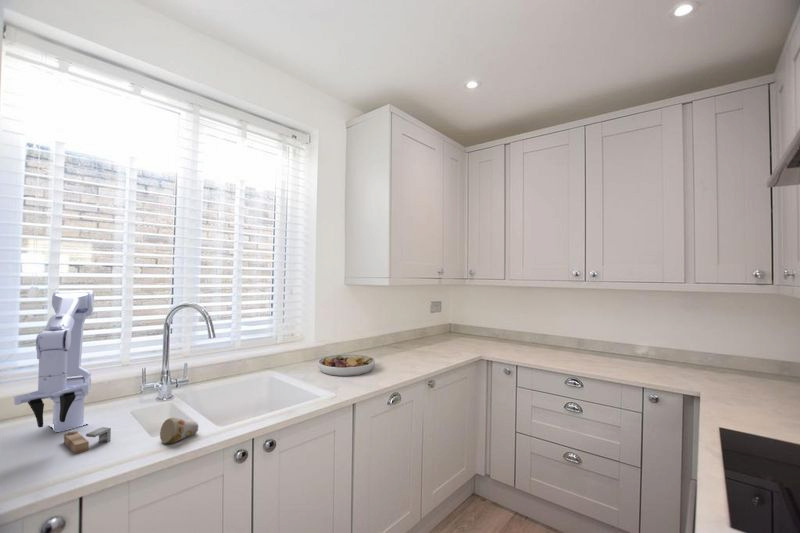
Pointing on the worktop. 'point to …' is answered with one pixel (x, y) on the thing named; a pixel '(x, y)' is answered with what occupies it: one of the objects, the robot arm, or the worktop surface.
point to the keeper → (101, 434)
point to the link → (75, 441)
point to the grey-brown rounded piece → (177, 430)
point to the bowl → (346, 364)
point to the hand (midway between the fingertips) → (51, 423)
